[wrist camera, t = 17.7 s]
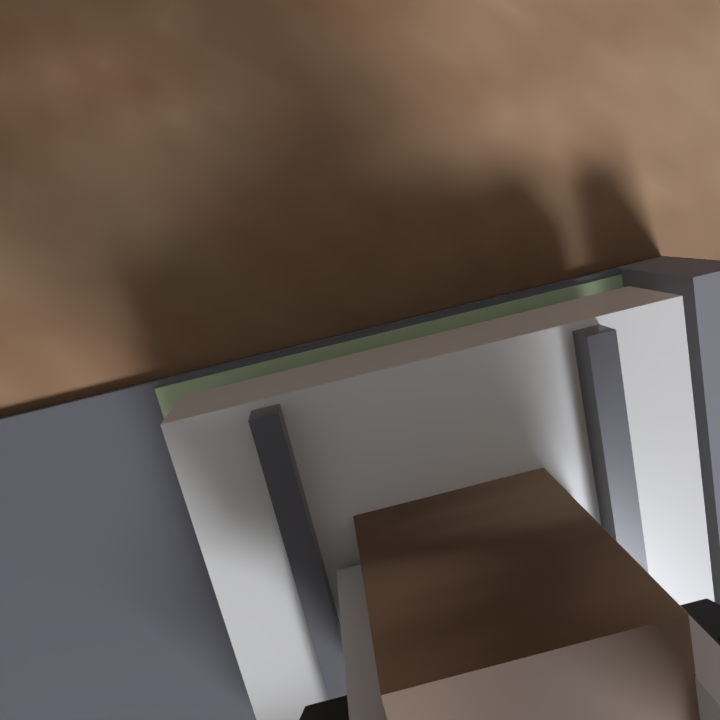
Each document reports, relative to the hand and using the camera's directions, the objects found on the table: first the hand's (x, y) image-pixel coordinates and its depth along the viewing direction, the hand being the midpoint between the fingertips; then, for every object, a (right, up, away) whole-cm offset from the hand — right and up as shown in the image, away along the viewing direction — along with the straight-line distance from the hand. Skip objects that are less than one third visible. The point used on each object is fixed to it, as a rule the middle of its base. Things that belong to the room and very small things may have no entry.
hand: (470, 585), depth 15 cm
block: (0, 0, 0) cm, 0 cm away
